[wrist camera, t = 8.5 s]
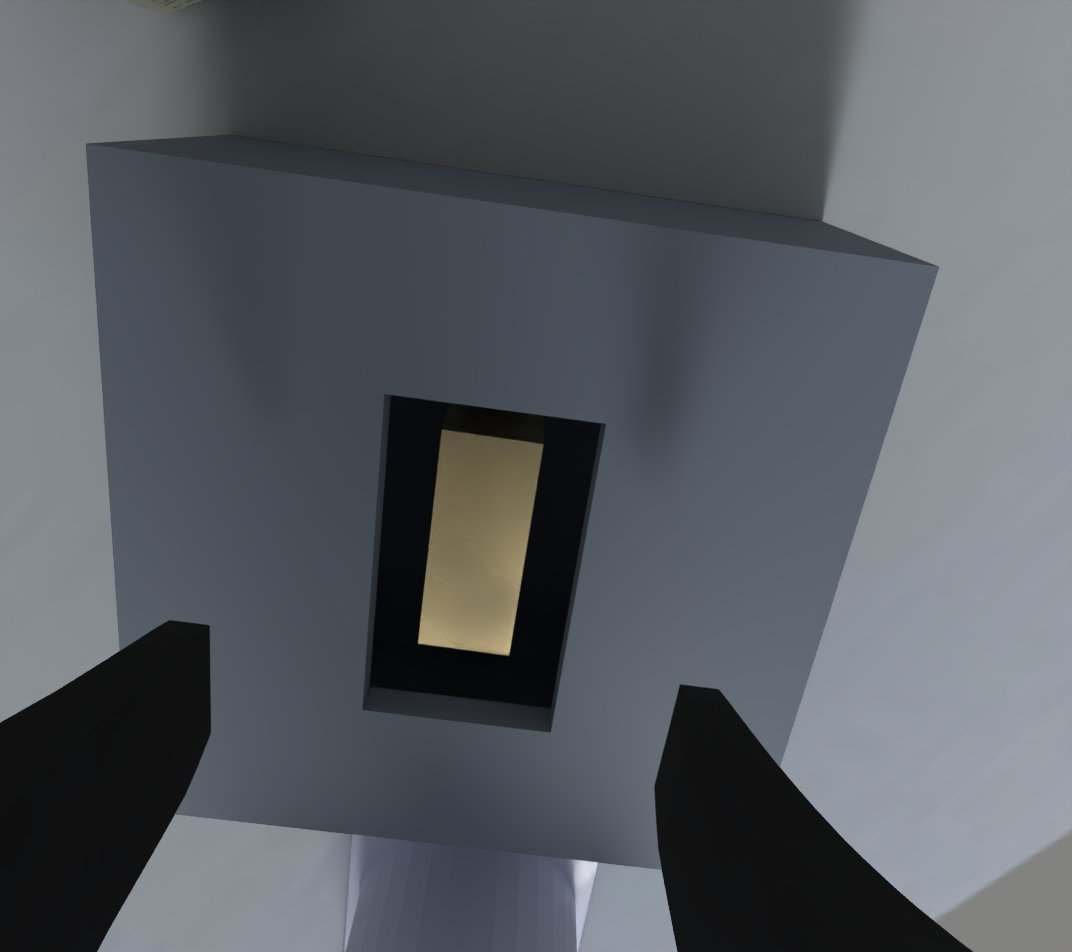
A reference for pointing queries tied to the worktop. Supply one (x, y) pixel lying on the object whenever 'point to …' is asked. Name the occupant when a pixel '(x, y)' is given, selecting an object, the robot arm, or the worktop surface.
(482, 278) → the slot box
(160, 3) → the skincare box
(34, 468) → the worktop surface
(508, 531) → the block
